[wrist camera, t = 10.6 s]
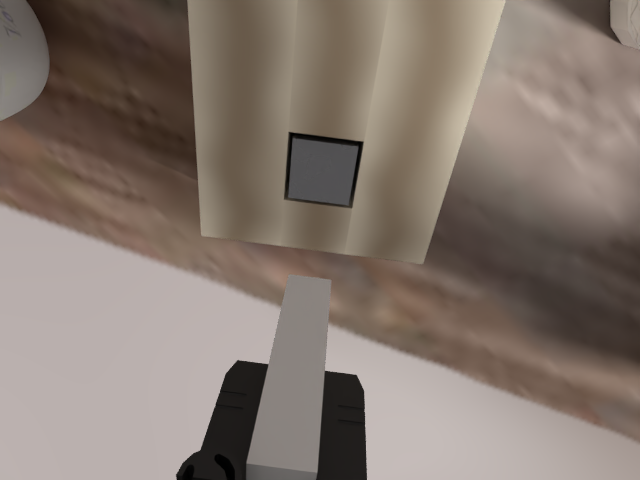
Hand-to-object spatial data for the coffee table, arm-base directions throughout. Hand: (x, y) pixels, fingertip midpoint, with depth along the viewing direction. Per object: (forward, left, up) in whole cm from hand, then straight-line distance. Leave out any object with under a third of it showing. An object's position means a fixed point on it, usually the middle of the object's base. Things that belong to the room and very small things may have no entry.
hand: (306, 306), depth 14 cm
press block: (0, -6, -20) cm, 20 cm away
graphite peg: (0, 0, -18) cm, 18 cm away
